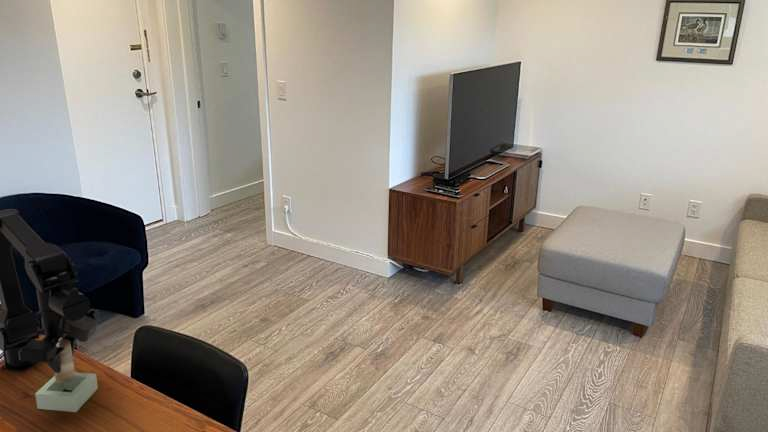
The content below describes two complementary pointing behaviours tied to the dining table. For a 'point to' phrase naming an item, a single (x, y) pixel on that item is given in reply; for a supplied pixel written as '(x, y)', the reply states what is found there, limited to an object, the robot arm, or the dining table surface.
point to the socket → (67, 393)
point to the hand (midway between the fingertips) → (63, 366)
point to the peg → (65, 363)
